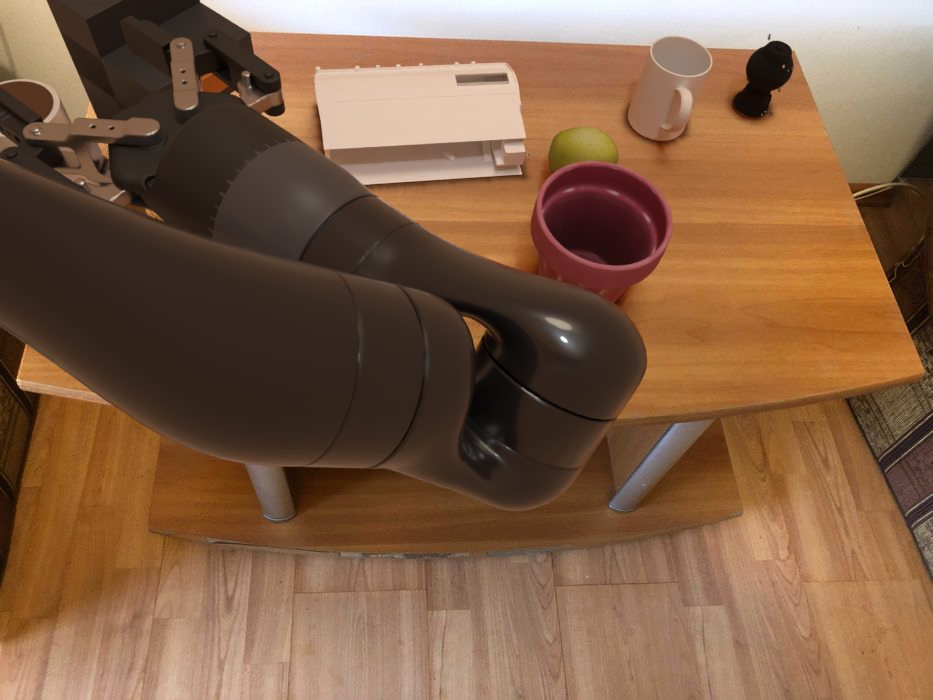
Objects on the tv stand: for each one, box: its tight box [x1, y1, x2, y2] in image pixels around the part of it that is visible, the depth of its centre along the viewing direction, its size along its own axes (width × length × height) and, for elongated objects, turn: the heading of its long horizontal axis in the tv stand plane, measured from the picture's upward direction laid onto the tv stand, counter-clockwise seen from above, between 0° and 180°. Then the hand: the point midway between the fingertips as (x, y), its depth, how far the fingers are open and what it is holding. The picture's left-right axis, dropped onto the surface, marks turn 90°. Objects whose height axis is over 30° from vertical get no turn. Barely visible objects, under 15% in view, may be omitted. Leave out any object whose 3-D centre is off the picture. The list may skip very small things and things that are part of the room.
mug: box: [627, 35, 713, 142], centre depth 95 cm, size 12×8×10 cm, turn 0°
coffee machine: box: [45, 0, 255, 120], centre depth 77 cm, size 16×12×24 cm
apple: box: [548, 126, 619, 175], centre depth 90 cm, size 8×9×8 cm
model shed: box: [312, 60, 527, 186], centre depth 92 cm, size 25×15×7 cm, turn 100°
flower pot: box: [530, 161, 674, 303], centre depth 79 cm, size 14×14×13 cm
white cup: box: [0, 78, 101, 186], centre depth 56 cm, size 6×6×9 cm
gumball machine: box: [732, 33, 795, 119], centre depth 99 cm, size 7×6×10 cm
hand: (66, 66), depth 42 cm, fingers open, 8 cm apart
